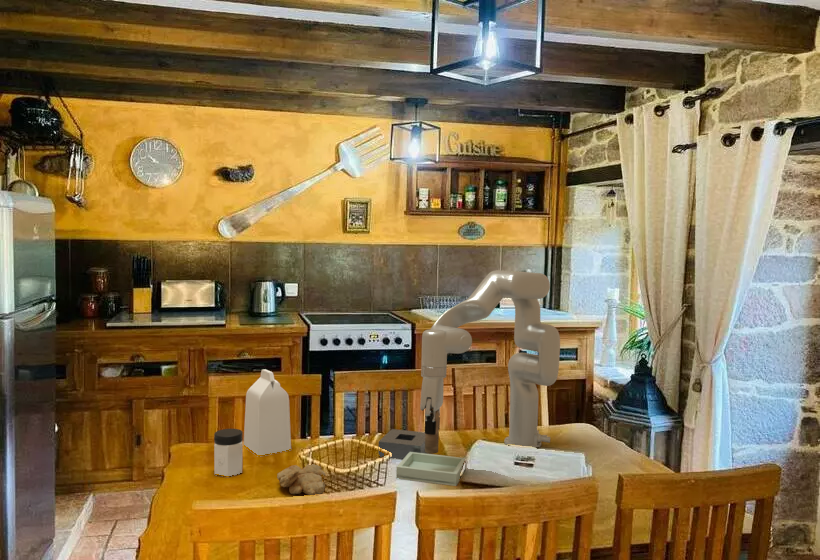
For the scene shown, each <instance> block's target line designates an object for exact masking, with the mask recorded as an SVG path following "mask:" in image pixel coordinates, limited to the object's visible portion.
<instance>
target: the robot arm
mask: <svg viewBox="0 0 820 560" xmlns="http://www.w3.org/2000/svg"><path fill="white" fill-rule="evenodd" d="M550 282H551V281H549V278H548V277H547V275H545V274H543V273H540V272H531V271H530V272H529V271H521V270H520V271H517V270H516V271H514V270H513V271H512V270H502V269H499V270H498V269H497V270H492V271H490V272H489V273H488V274H486V276H485V277H484V278H483V279H482V281H481V282H480V283H479V284H478V286H477V287H476V288H475V289H474V291H473V292H472V293H471V294H470V296H469V297H468V298H466V299H465V300H462V302H459V303H458V304H456V305H454V306H452V307H450V308H448V309H447V310H446V311H444V312H443V313H442V314H441V315H440V316H439V317H438V319H436V321H435V322H434V324H433V325H432V326H431V327H430V328H429V329H426V330H424V331H423V332H422V335H421V365H420V366H421V367H420V370H421V371H420V372H421V373H420V376H421V377H422V381H421V382H422V383H421V393H420V406H419V407H420V411H425V412H424V416H425V417H424V418H425V419H424V432H425V434H431V435H435V434H436V421H435V413H436V411H439V430H440V422H441V420H440V419H441V417H440V416H441V410H440V409H441V407H443V403H444V379H445V378H447V370H448V369H447V367H448V366H447V365H448V364H447V363H448V361H447V359H448V354H464V353H465V352H468V351H469V349H470V348H471V346H472V344H473V339H472V338H473V337H472V335H471V334H470V332H469V331H468V330H465V329H464V328H459V327H460V326H463V325H465V324H468V323H469V324H470V323H472V322H477V321H482V320H484V319H486V318H488V317H489V316H490V315H491V314H492V312H493V311H494V309H496V307H497V306H498V304H500V302H501V301H502V300H503V299H504V298H509V299H511V301H512V303H513V305H514V309H515V310H514V314H515V315H514V331H513V333H514V336H513V340H514V344H515V345H516V347H518V348H520V349H523V350H526V351H532V352H537V353H538V355H537V354H534V353H533V354H532V353H529V352H517V353H515V354H512V356H510V358H509V360H508V364H507V371H508V376H509V383H510V384H509V388H510V389H509V392H510V394H509V397H510V398H509V426H508V427H509V431H508V436H506V437H505V438H504V444H505V445H506V444H515V445H522V446H532V447H539V448H541V447H542V443H543V442H544V443H549V444H551V436H548V434H541V433H540V432H539V431H540V430H539V429H538V420H539V419H538V417H539V391H538V388H537V385H539V386H543V387H544V386H545V387H549V386H552V385H554V384H555V382H556V381H557V378H558V376H559V369H560V368H559V367H560V353H561V337H560V336H561V335H560V332H559V329H557V328H556V327H555V326H553V325H551V324H549V323H548V324H547V323H542V322H541V306H540V305H541V304H540V302H539V300H542V299H544V298H546V296H547V295H548V293H549V292H550V288H551V283H550ZM432 410H434V411H432ZM431 413H433V415H432V414H431Z"/></svg>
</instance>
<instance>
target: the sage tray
mask: <svg viewBox="0 0 820 560" xmlns="http://www.w3.org/2000/svg"><path fill="white" fill-rule="evenodd" d="M465 459H466V460H467V457H461V456H460V457H459V456H450V455H442V454H435V453H433V454H431V453H427V454H425V453H417V452H409V453H408V454H407V455H406V457H405V458H404V459H401V461H400V462H399V464H397V466H396V470H395V471H396V477H395V478H396V479H397V478H399V479H398V480H405V481H414V482H421V483H428V484H429V483H430V484H436V485H437V484H438V485H445V486H446V485H447V486H453V487H454V486H455V487H457V486H458V484H459V482H460V480H461V479H460V472H461V469H462V466H463V463H464V461H465ZM459 479H460V480H459Z"/></svg>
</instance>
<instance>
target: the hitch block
mask: <svg viewBox="0 0 820 560" xmlns="http://www.w3.org/2000/svg"><path fill="white" fill-rule="evenodd" d="M379 447H380V448H382V449H385V450H387V451H389V452H391V453H392V457H391V458H390V459H394V458H396V459H397V460H403V459H404V458H405V457H406V455H407V454H408V453H409V452H417V453H425V454H428V453H426V452H425V431H422V432H421V431H414V430H404V429H395V428H391V429H390V430H389V431H388V432H387V433H386V434H385V435H384V436H383V437H382V438H381V439H380V440H378V448H379ZM378 454H379V455H380V457H379V458H383V457H382V456H384V453H382V452H380V451H379V450H378ZM396 459H395V460H396Z"/></svg>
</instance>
